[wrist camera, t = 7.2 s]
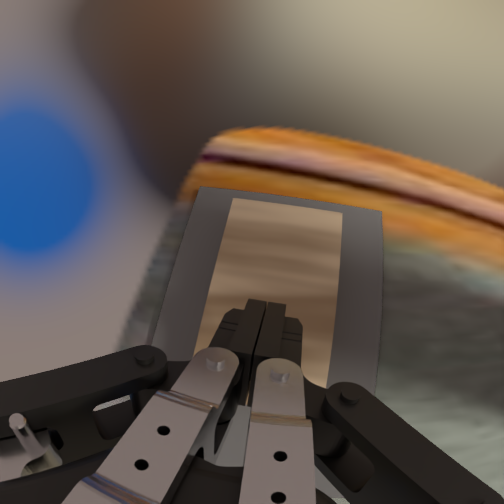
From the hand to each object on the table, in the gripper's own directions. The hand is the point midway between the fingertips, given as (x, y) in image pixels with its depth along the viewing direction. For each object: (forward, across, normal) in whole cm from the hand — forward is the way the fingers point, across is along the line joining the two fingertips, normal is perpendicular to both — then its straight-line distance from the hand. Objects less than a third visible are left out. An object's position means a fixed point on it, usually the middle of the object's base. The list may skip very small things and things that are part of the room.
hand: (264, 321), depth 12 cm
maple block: (+1, 0, +6) cm, 6 cm away
